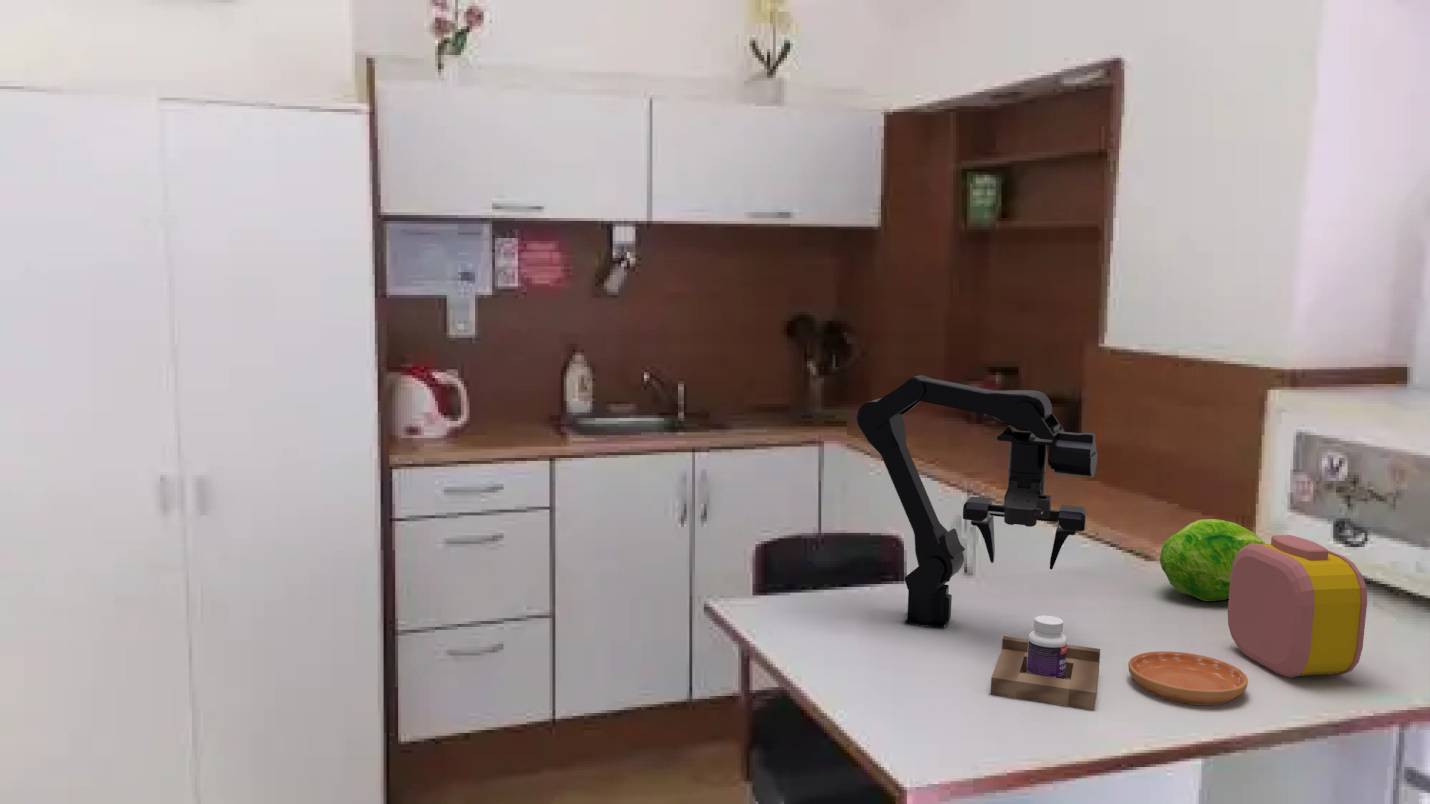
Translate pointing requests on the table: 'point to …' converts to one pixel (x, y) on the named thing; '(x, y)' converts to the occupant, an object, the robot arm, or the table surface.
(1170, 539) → the lettuce
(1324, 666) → the alarm clock
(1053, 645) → the pill bottle
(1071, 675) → the socket
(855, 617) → the table surface
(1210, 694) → the saucer
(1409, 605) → the table surface
